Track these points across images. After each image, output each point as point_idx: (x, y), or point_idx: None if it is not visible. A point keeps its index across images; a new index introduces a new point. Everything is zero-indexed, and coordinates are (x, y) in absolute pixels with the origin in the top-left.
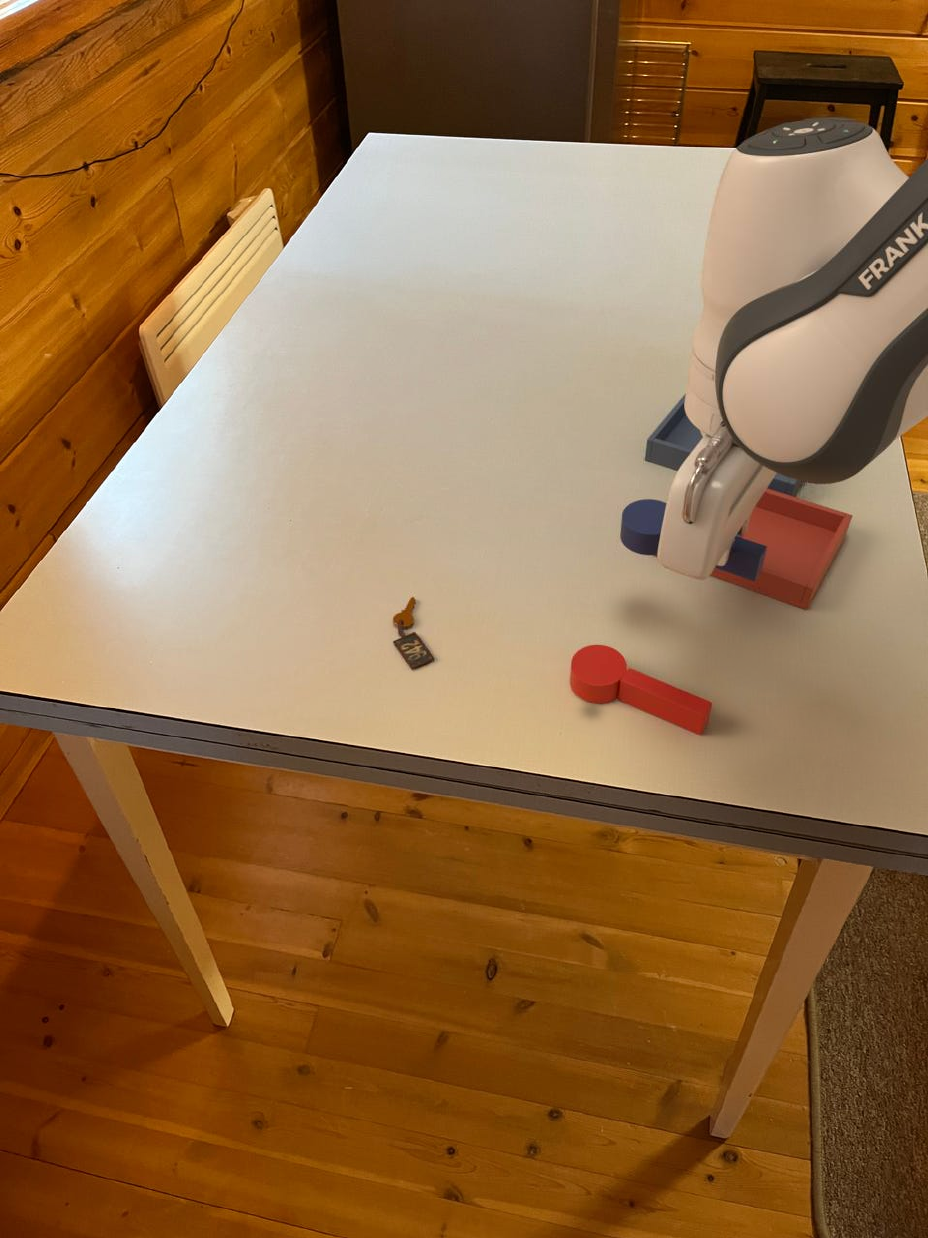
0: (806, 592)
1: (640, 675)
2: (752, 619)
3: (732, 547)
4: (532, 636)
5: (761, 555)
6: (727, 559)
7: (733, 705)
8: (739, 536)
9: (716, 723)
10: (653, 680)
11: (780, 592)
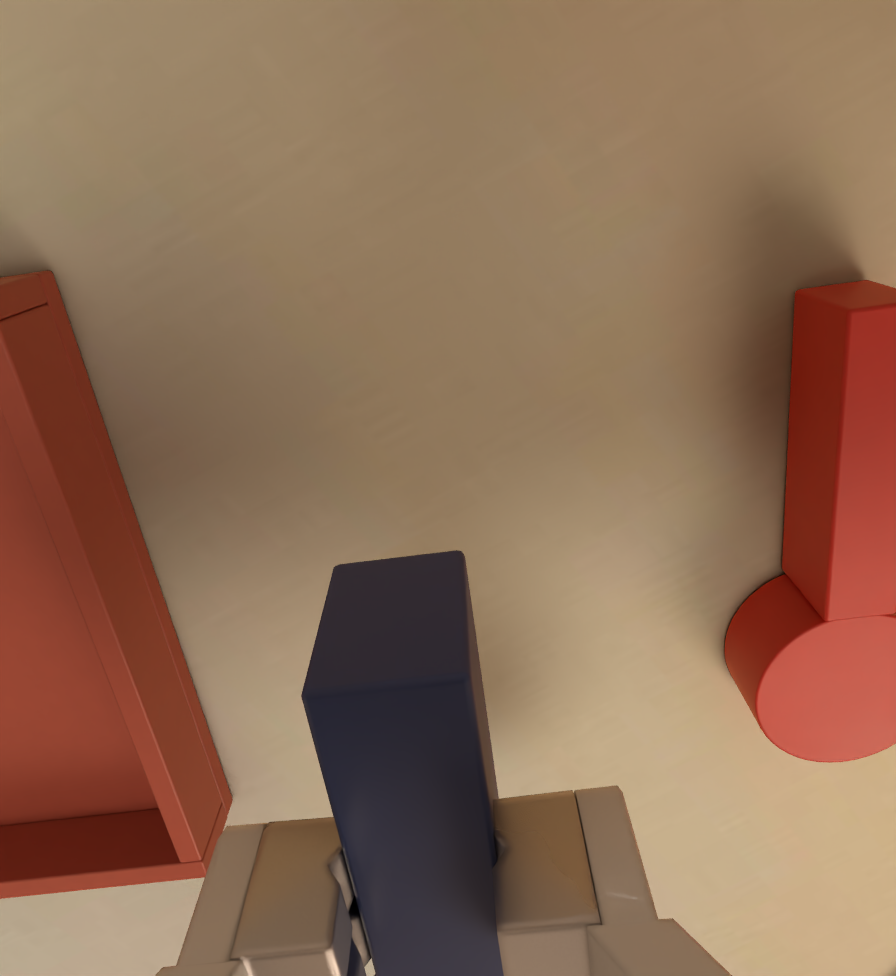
0: (13, 307)
1: (845, 577)
2: (247, 408)
3: (531, 871)
4: (732, 836)
5: (428, 680)
6: (598, 812)
7: (672, 255)
8: (339, 861)
9: (784, 262)
10: (846, 533)
11: (73, 394)
